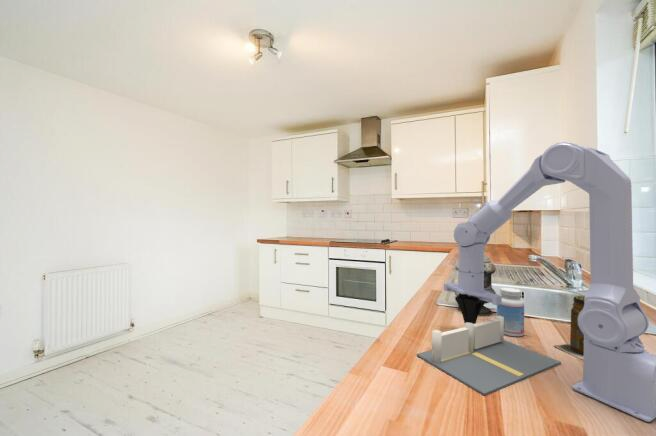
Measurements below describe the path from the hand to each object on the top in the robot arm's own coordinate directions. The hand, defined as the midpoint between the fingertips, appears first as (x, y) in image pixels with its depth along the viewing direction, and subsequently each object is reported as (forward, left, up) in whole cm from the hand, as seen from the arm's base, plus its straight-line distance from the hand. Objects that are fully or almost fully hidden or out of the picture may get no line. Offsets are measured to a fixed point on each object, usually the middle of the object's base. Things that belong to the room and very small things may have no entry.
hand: (469, 325), depth 72 cm
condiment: (-16, -16, -3) cm, 23 cm away
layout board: (-9, +7, -3) cm, 12 cm away
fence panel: (-5, +1, -2) cm, 6 cm away
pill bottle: (-2, -12, -3) cm, 13 cm away
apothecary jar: (+14, -20, -3) cm, 25 cm away
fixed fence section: (-5, +13, -2) cm, 14 cm away
